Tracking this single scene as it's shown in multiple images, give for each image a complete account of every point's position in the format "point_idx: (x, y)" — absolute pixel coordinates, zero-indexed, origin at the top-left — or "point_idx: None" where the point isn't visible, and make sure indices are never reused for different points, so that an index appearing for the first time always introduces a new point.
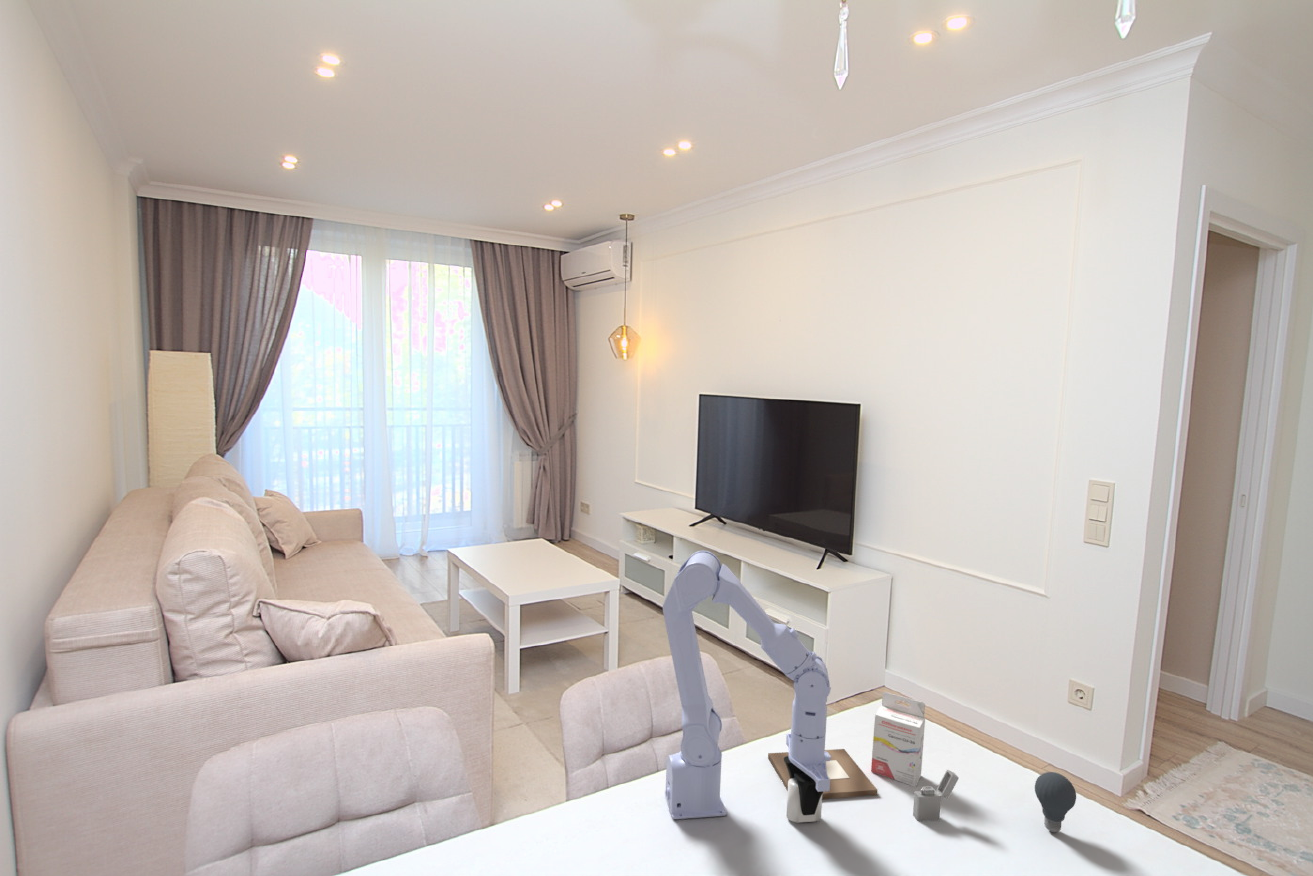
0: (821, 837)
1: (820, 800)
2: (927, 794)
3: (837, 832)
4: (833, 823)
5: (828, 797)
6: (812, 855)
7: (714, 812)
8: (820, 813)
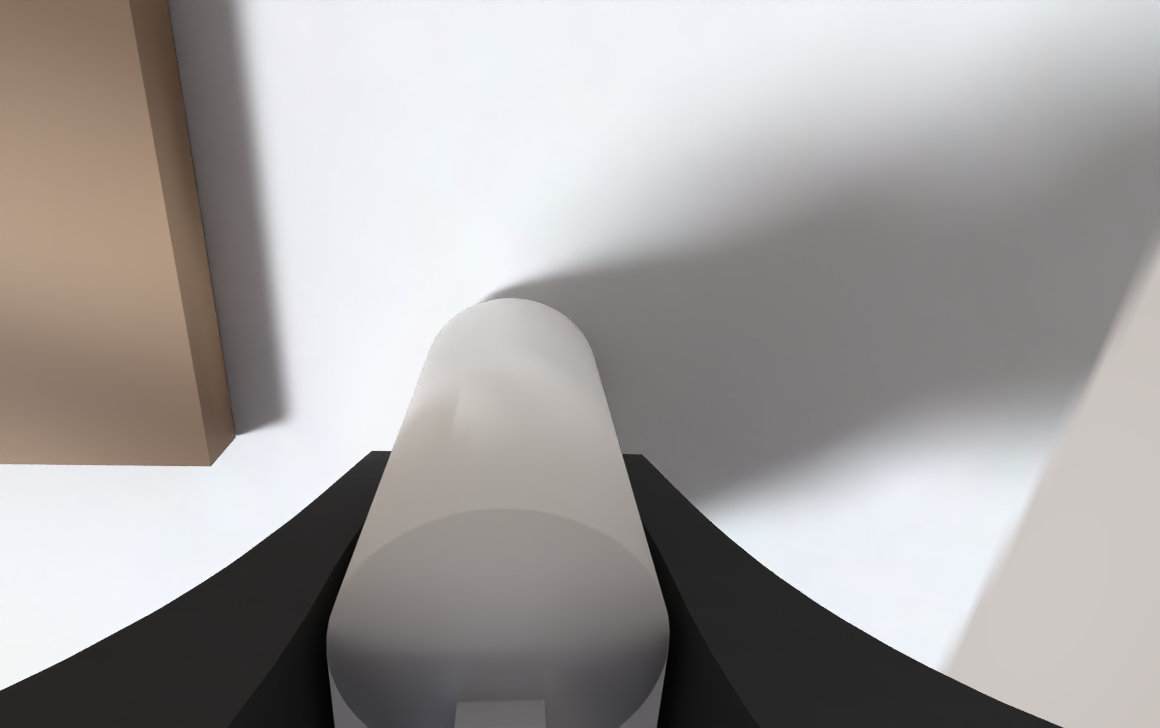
0: (767, 392)
1: (611, 436)
2: None
3: (750, 223)
4: (619, 197)
5: (164, 29)
6: (917, 529)
7: None
8: (586, 352)
